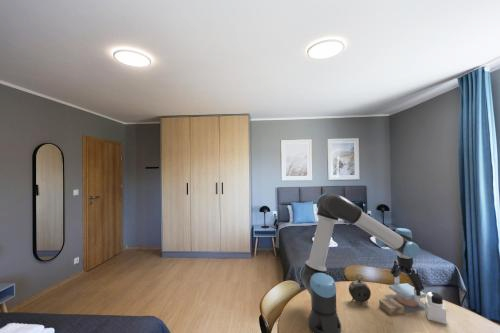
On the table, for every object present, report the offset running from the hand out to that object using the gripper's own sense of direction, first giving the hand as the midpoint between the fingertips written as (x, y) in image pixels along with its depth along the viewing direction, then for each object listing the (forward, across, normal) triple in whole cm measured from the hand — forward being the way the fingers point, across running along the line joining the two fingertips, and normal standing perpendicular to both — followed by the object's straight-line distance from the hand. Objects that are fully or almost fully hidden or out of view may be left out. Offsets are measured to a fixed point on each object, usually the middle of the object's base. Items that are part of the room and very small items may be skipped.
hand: (406, 294), depth 124 cm
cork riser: (+5, -5, +14) cm, 16 cm away
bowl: (+4, 0, 0) cm, 4 cm away
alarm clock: (+5, +4, +26) cm, 27 cm away
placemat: (+5, 0, 0) cm, 5 cm away
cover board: (-1, 0, 0) cm, 1 cm away
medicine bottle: (+5, -14, -3) cm, 15 cm away
